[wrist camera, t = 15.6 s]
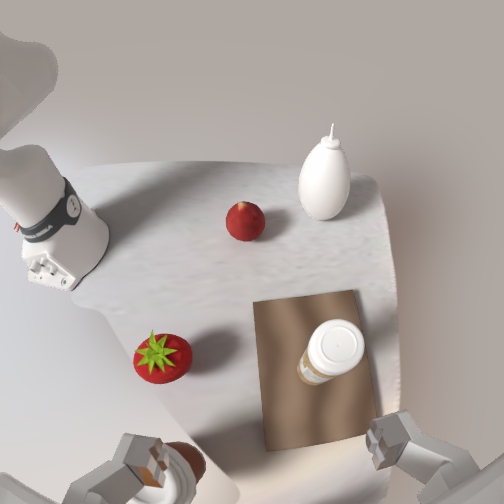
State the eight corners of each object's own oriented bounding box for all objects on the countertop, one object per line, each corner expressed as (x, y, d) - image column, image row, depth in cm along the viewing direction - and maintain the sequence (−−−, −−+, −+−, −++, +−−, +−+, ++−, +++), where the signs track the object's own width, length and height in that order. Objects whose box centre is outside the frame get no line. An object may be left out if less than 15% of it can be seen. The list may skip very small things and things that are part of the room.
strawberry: (147, 356, 34) (110, 337, 26) (193, 336, 36) (168, 312, 27) (161, 394, 31) (125, 387, 23) (210, 375, 33) (188, 363, 24)
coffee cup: (157, 423, 29) (110, 425, 19) (223, 444, 27) (199, 461, 17) (145, 476, 24) (97, 494, 14) (208, 499, 23) (180, 533, 13)
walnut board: (266, 449, 27) (266, 451, 25) (253, 306, 38) (252, 302, 36) (374, 429, 26) (378, 430, 25) (350, 294, 37) (352, 289, 36)
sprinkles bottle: (309, 344, 32) (329, 307, 21) (339, 362, 31) (375, 334, 20) (289, 374, 31) (299, 354, 19) (320, 392, 29) (348, 383, 18)
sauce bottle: (347, 228, 43) (373, 139, 28) (303, 235, 43) (314, 142, 28) (332, 194, 48) (347, 108, 32) (291, 200, 47) (295, 110, 32)
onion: (254, 216, 46) (251, 182, 39) (272, 240, 43) (271, 207, 36) (223, 231, 45) (215, 198, 38) (239, 257, 42) (233, 225, 35)
